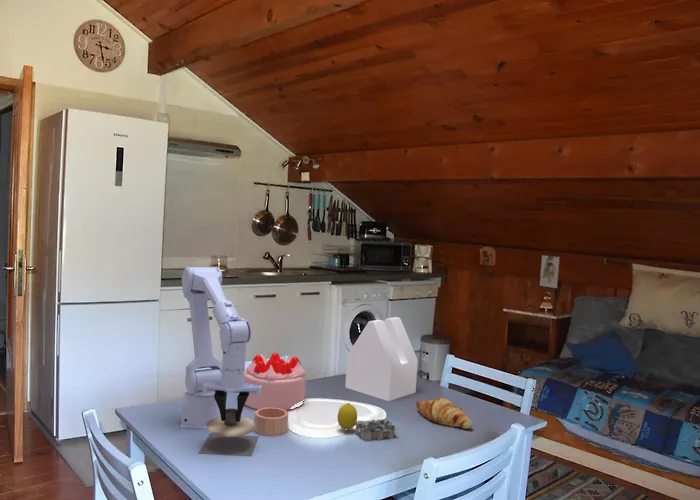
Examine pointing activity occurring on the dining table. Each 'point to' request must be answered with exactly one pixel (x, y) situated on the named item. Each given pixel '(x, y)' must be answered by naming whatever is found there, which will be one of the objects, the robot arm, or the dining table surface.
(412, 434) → the dining table surface
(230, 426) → the lid
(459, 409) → the croissant
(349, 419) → the lemon
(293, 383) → the cake
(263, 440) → the dining table surface
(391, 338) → the white house-shaped block
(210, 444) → the mat
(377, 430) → the egg carton
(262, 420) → the bucket
